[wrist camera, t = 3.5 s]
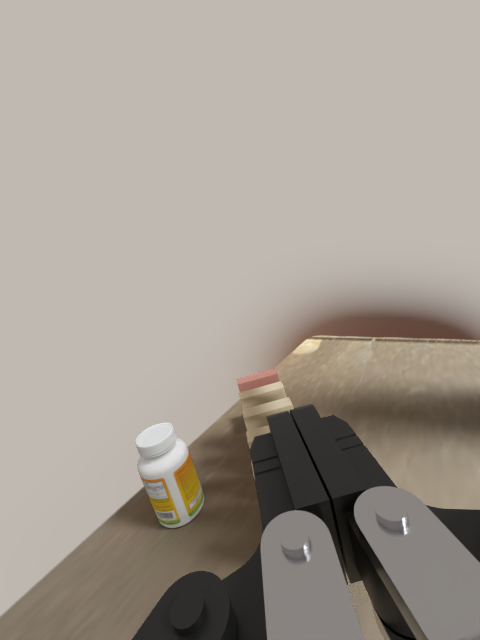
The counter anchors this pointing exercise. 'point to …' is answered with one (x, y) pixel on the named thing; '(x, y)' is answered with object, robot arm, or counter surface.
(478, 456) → the counter surface
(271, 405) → the domino
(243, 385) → the domino
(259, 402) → the domino
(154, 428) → the supplement bottle
